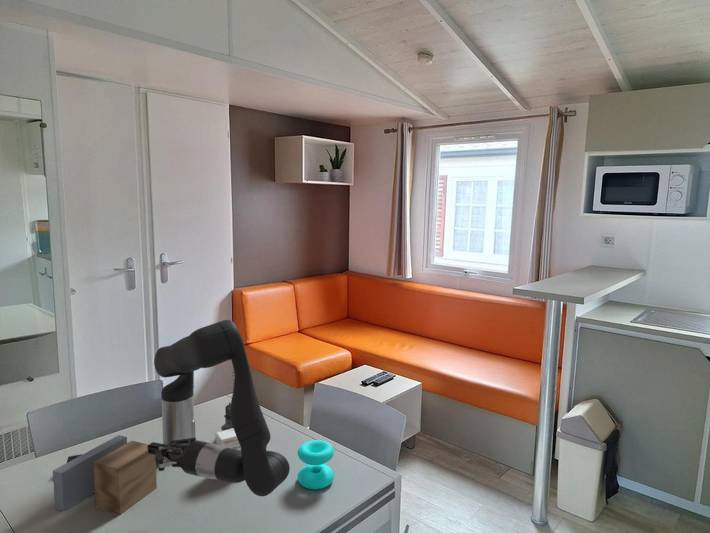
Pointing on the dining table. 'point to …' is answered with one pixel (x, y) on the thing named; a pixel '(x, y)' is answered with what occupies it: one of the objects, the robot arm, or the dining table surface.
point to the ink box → (228, 439)
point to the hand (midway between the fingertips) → (149, 447)
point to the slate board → (80, 474)
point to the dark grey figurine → (227, 419)
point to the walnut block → (124, 477)
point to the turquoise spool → (315, 464)
